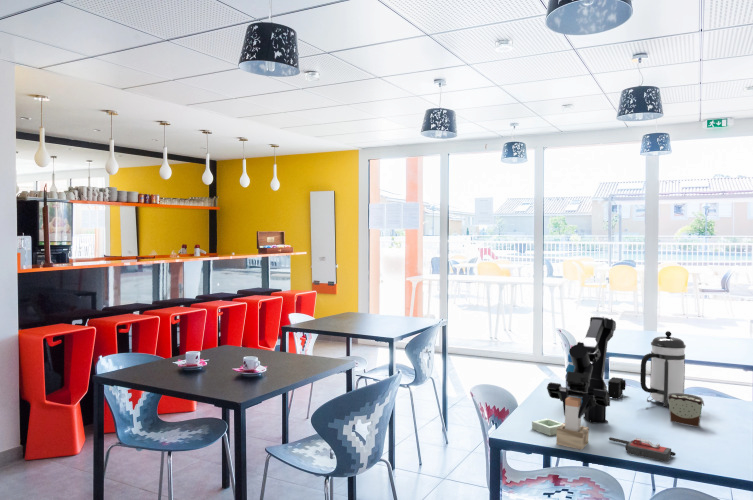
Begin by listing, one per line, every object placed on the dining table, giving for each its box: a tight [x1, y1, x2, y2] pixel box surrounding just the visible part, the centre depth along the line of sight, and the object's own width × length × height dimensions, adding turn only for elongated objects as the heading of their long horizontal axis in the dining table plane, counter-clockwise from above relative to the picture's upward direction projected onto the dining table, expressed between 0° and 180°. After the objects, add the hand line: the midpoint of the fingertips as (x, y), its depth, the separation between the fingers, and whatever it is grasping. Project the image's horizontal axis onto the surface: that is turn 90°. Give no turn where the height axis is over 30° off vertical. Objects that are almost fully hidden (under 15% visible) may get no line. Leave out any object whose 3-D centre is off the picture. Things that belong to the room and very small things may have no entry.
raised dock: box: [555, 422, 590, 450], centre depth 184 cm, size 8×8×5 cm
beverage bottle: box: [565, 353, 583, 404], centre depth 233 cm, size 8×8×20 cm
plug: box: [564, 397, 582, 432], centre depth 184 cm, size 4×4×11 cm
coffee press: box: [640, 330, 687, 408], centre depth 235 cm, size 17×16×30 cm
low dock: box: [531, 418, 564, 436], centre depth 197 cm, size 8×8×3 cm
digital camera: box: [607, 376, 627, 400], centre depth 247 cm, size 10×5×7 cm, turn 148°
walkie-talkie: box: [608, 436, 676, 463], centre depth 178 cm, size 9×4×20 cm
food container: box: [667, 393, 705, 428], centre depth 210 cm, size 12×6×10 cm, turn 47°
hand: (571, 416), depth 183 cm, fingers closed on plug, 4 cm apart
